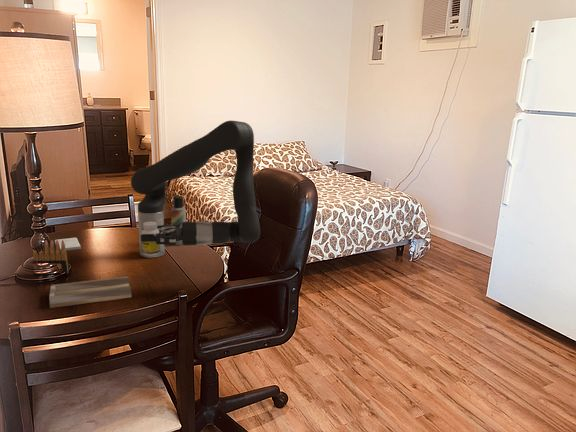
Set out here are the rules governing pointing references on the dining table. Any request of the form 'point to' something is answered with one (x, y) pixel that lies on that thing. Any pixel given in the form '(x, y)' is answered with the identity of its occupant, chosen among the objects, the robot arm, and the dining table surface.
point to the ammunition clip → (53, 255)
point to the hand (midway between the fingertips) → (142, 235)
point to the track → (89, 291)
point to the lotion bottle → (178, 214)
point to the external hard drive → (69, 243)
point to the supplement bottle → (150, 247)
